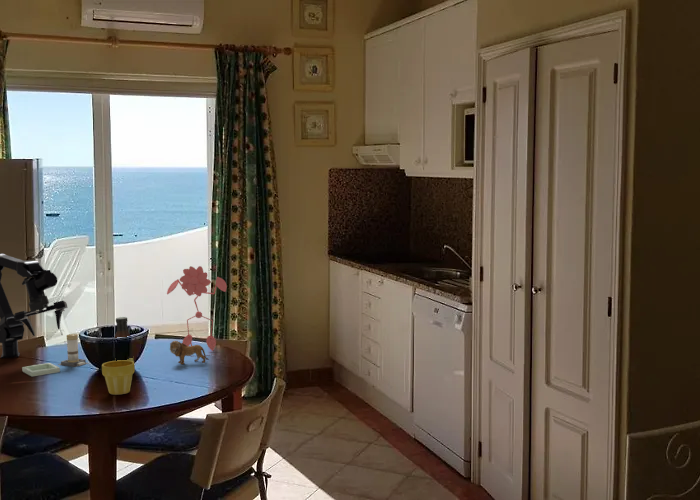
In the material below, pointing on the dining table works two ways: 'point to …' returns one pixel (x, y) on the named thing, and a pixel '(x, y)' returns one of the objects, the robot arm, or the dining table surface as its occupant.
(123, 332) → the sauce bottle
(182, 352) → the lion figurine
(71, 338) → the beige round cylinder
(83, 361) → the fuse block
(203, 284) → the figurine
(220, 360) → the dining table surface
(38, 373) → the parts tray
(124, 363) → the plant pot
